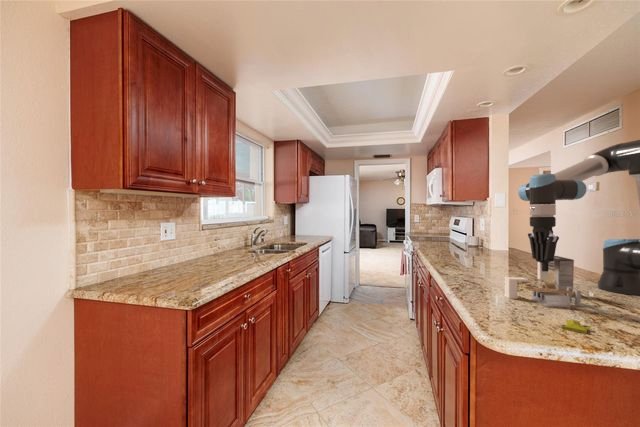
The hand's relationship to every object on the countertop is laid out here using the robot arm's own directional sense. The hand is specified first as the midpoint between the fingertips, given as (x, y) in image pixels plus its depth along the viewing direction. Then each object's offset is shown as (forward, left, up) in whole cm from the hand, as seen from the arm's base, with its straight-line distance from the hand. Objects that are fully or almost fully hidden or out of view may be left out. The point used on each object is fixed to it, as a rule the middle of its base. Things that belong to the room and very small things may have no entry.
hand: (542, 279), depth 104 cm
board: (-3, 0, -10) cm, 11 cm away
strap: (-3, 0, -5) cm, 5 cm away
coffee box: (-16, -15, -10) cm, 24 cm away
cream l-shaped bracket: (+6, -6, -9) cm, 12 cm away
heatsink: (-3, 0, -9) cm, 9 cm away
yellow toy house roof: (+3, +19, -11) cm, 22 cm away
